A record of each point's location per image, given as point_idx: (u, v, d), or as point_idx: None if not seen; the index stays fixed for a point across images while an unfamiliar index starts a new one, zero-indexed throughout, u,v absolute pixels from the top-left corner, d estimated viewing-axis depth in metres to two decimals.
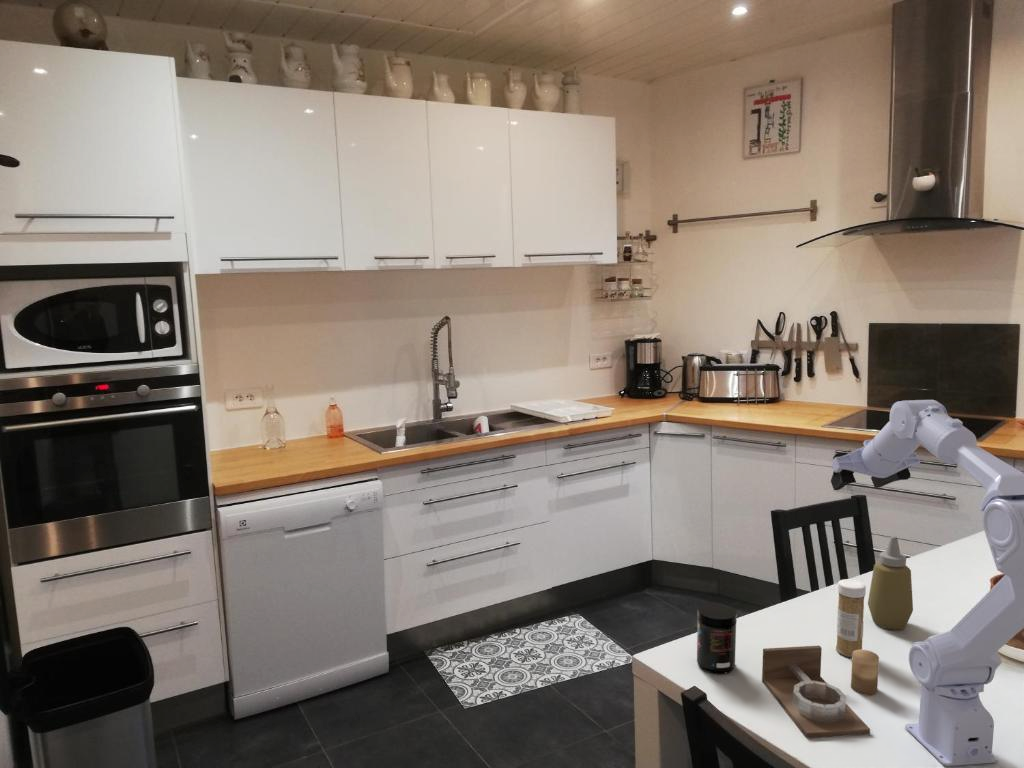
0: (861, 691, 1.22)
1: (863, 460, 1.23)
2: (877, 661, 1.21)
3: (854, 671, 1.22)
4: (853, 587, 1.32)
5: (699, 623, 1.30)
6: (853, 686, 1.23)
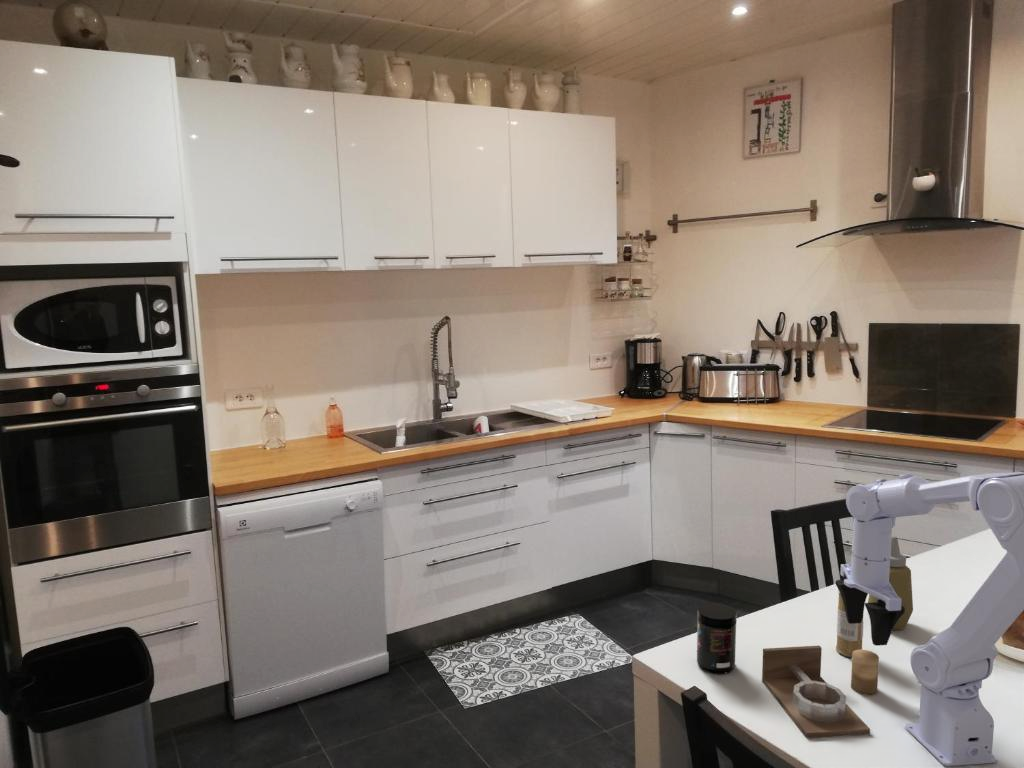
0: (861, 691, 1.22)
1: (880, 585, 1.18)
2: (877, 661, 1.21)
3: (854, 671, 1.22)
4: None
5: (699, 623, 1.30)
6: (853, 686, 1.23)
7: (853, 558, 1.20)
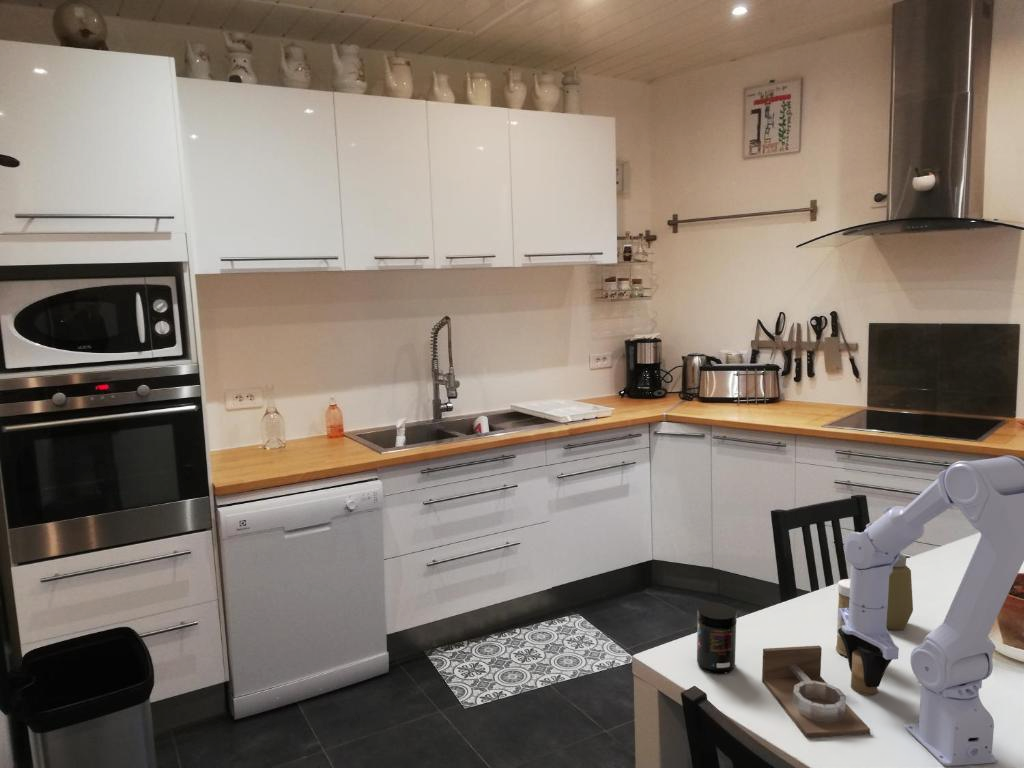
0: (861, 691, 1.22)
1: (877, 632, 1.19)
2: None
3: (854, 671, 1.22)
4: None
5: (699, 623, 1.30)
6: (853, 686, 1.23)
7: (851, 605, 1.21)
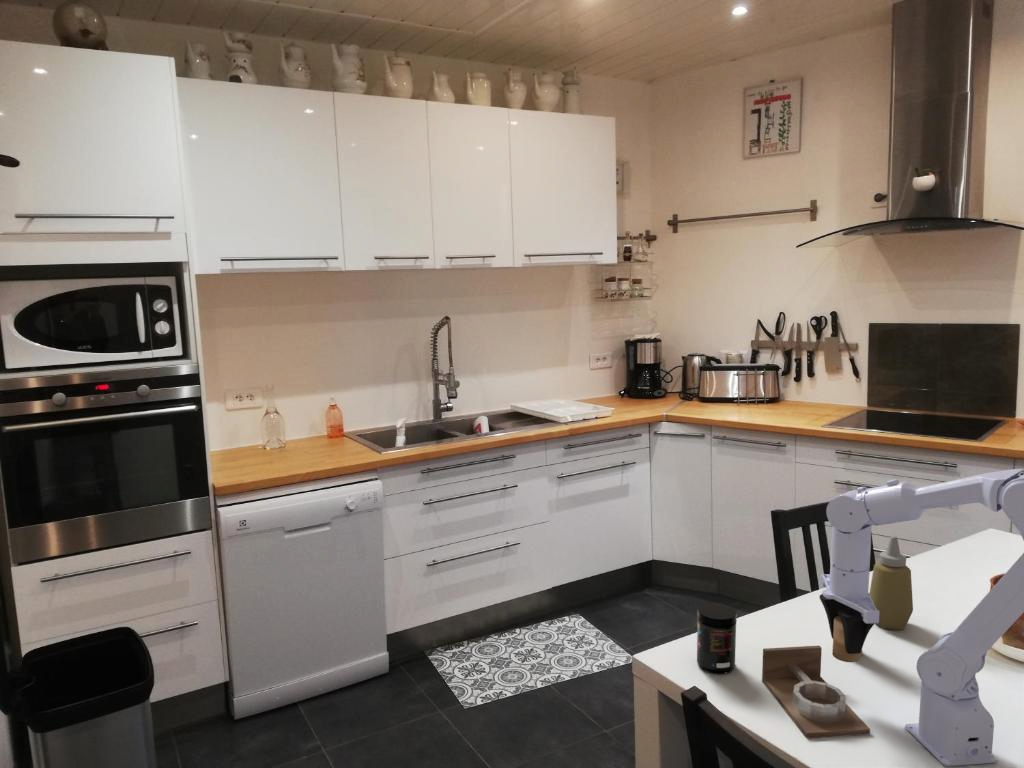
0: (843, 658, 1.17)
1: (858, 597, 1.15)
2: None
3: (835, 637, 1.18)
4: None
5: (699, 623, 1.30)
6: (834, 653, 1.19)
7: (831, 568, 1.17)
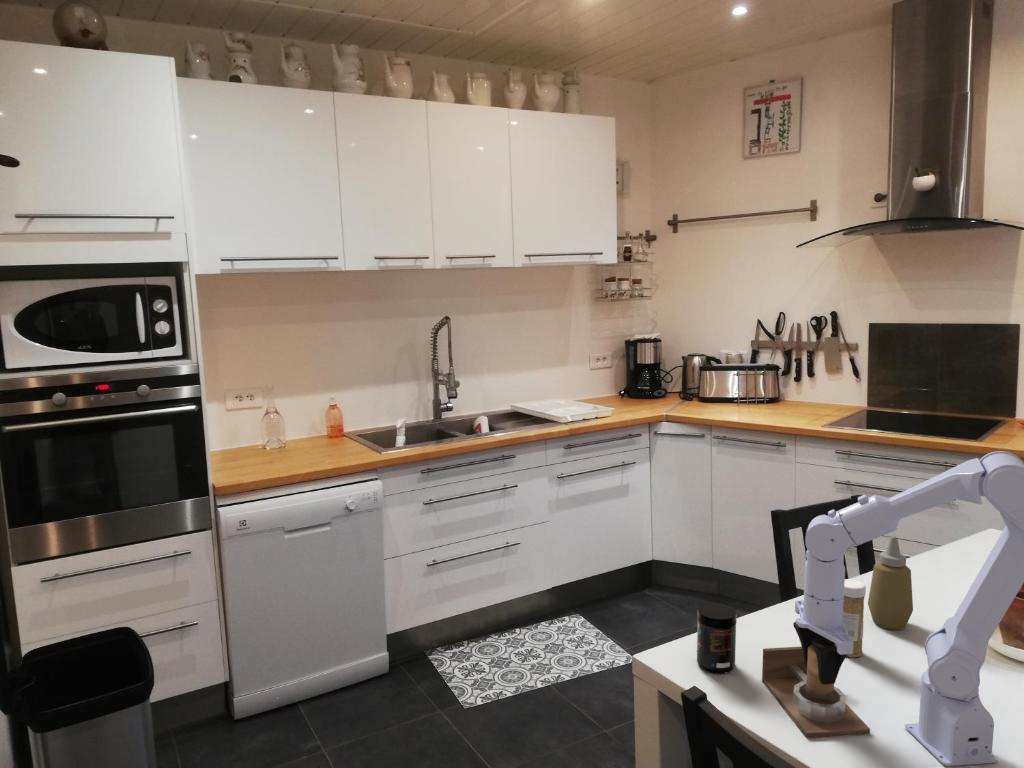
0: (817, 688, 1.14)
1: (832, 626, 1.11)
2: None
3: (809, 667, 1.15)
4: (853, 587, 1.32)
5: (699, 623, 1.30)
6: (808, 683, 1.15)
7: (805, 596, 1.14)
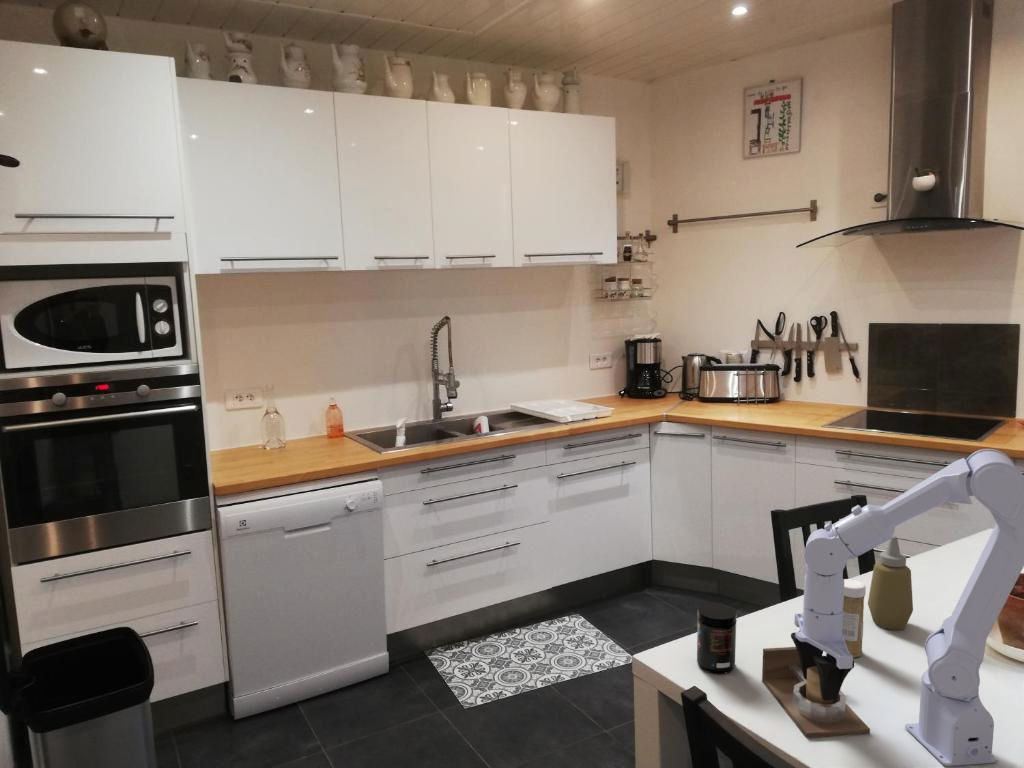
0: None
1: (832, 640, 1.12)
2: None
3: (809, 689, 1.15)
4: (853, 587, 1.32)
5: (699, 623, 1.30)
6: None
7: (804, 610, 1.14)
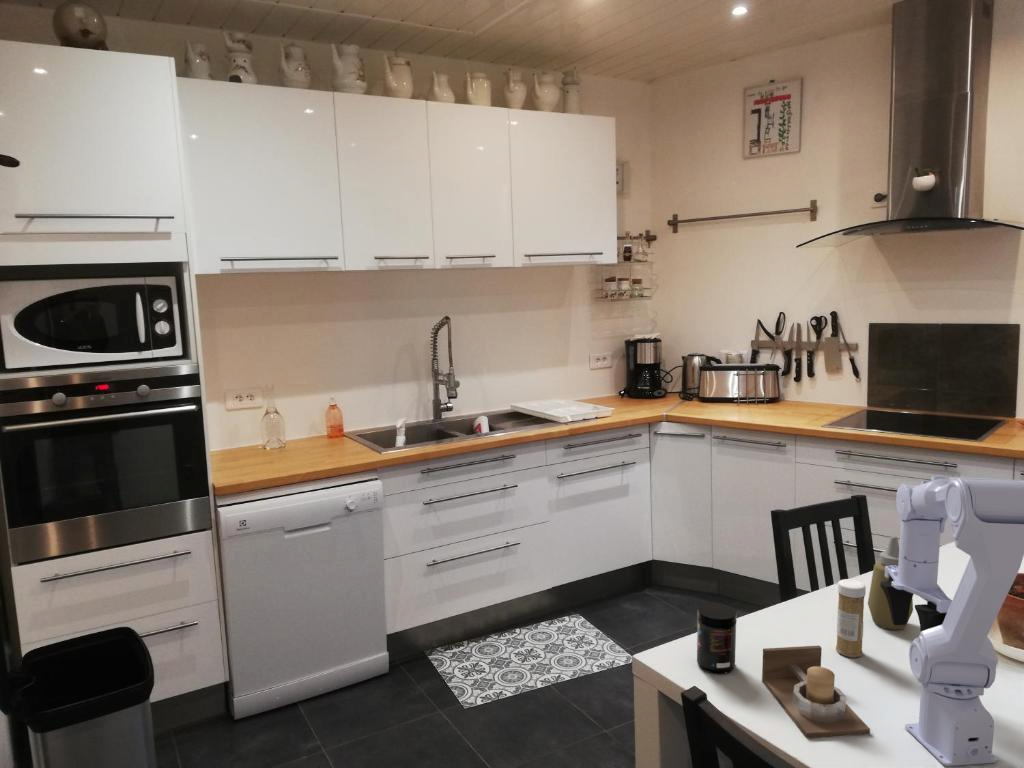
0: None
1: (929, 587, 1.18)
2: (833, 679, 1.14)
3: (809, 690, 1.15)
4: (853, 587, 1.32)
5: (699, 623, 1.30)
6: None
7: (901, 560, 1.20)
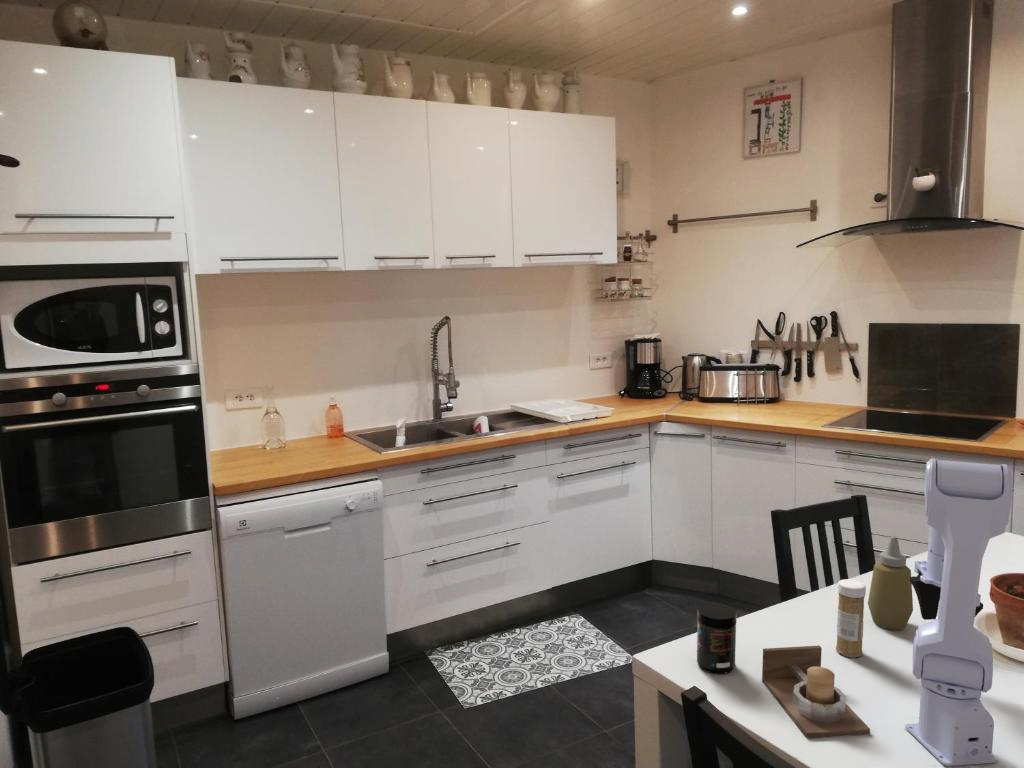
0: None
1: None
2: (833, 679, 1.14)
3: (809, 690, 1.15)
4: (853, 587, 1.32)
5: (699, 623, 1.30)
6: None
7: (930, 555, 1.22)
